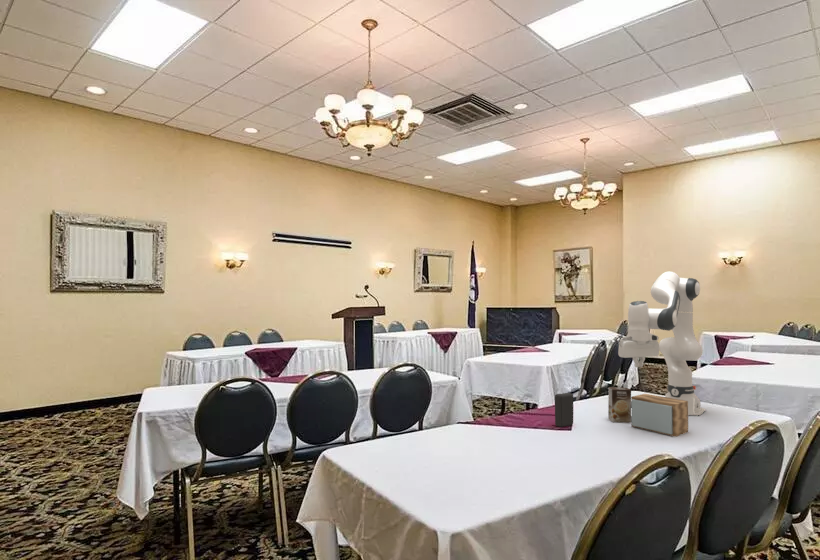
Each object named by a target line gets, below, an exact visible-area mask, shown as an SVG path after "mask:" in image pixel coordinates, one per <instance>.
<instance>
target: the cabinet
mask: <svg viewBox="0 0 820 560" xmlns="http://www.w3.org/2000/svg"><path fill="white" fill-rule="evenodd" d="M632 399H634V400H640V401H645V402H651V403H656V404H662V405H667V406H672V432H673V434H667V433H663V432H659V431H654V430H650V429H645V428H641V427H637V426H632V425H631V427H632V428H635V429H641V430H645V431H648V432H654V433H658V434H662V435H667V436H671V437H674V438H675V437H678V436H682V435H685V434H686V433H689V415H688V401H685V400H679V399H673V398H667V397H665V396H661V395H655V394H650V393H648V394H647V393H643V394H638V395H634V396H631V401H632Z"/></svg>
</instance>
